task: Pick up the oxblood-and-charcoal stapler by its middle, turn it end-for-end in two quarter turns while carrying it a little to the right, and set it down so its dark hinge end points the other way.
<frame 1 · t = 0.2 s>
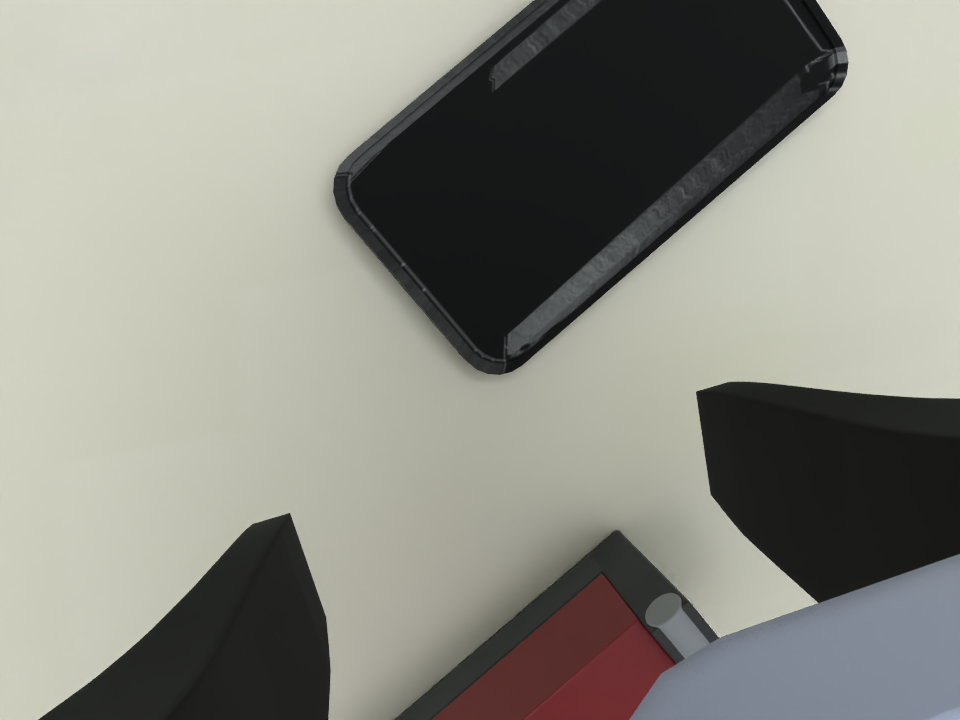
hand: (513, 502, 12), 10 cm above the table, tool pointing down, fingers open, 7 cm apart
phone: (587, 132, 22), on the table
stapler: (614, 596, 24), on the table
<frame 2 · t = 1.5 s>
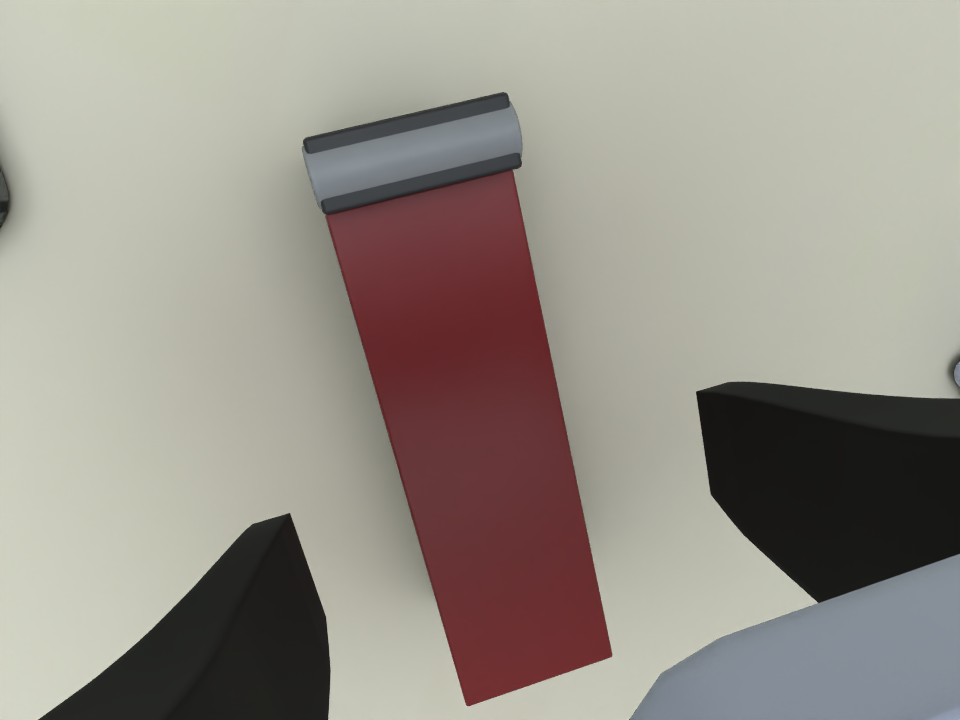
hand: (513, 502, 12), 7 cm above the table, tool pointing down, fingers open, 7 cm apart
stapler: (400, 194, 17), on the table
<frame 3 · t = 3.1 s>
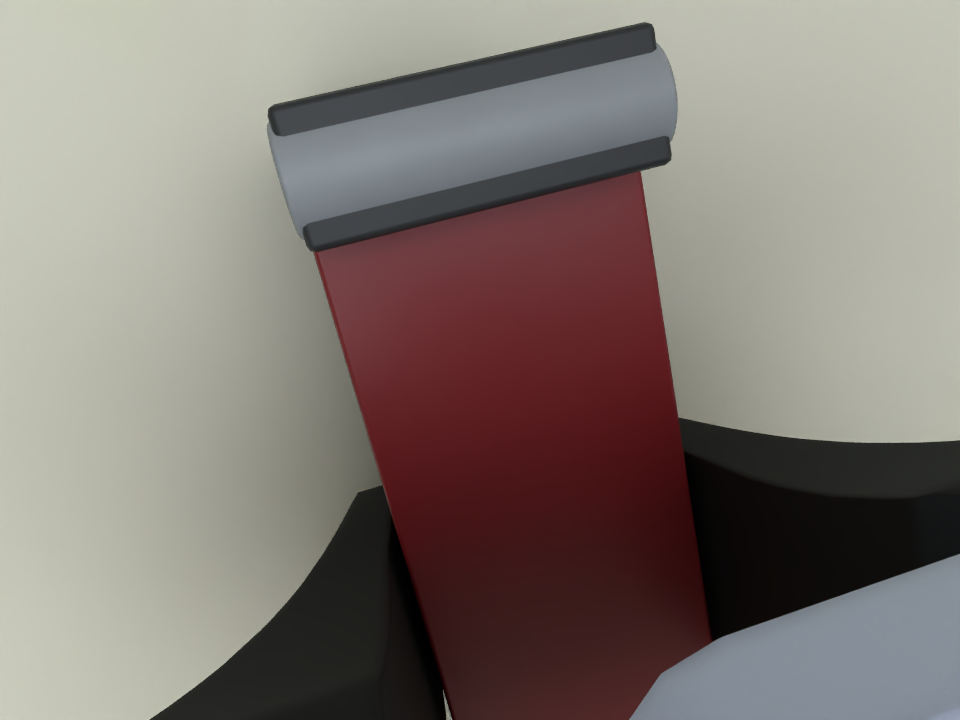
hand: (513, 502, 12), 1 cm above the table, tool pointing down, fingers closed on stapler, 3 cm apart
stapler: (428, 204, 12), on the table, touching gripper
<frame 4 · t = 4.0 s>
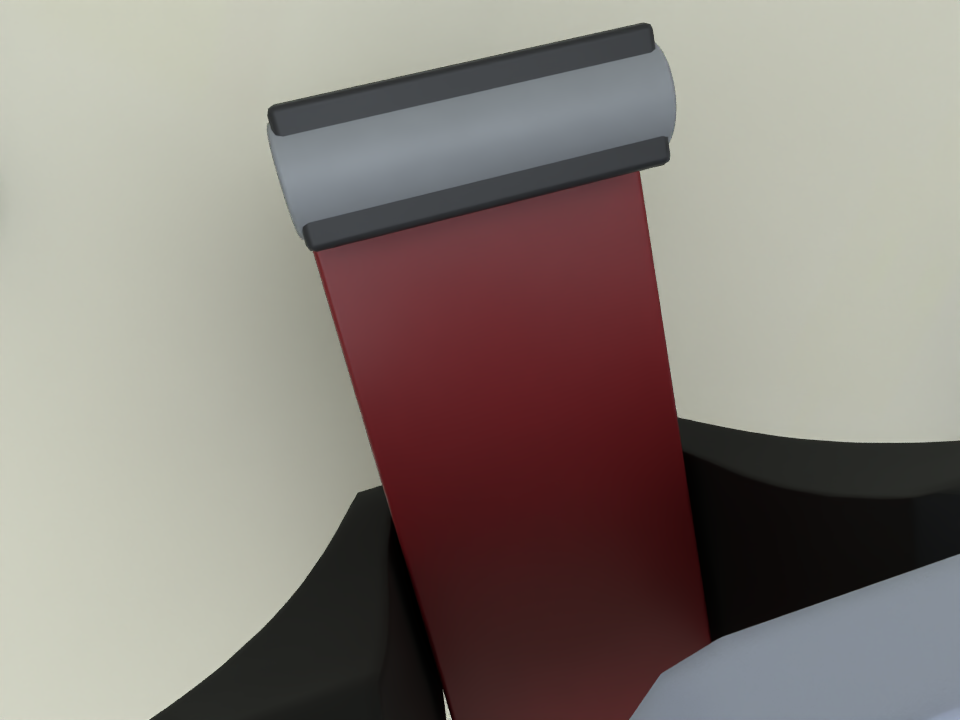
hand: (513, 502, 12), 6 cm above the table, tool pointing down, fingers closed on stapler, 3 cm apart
stapler: (428, 204, 12), point 5 cm above the table, touching gripper
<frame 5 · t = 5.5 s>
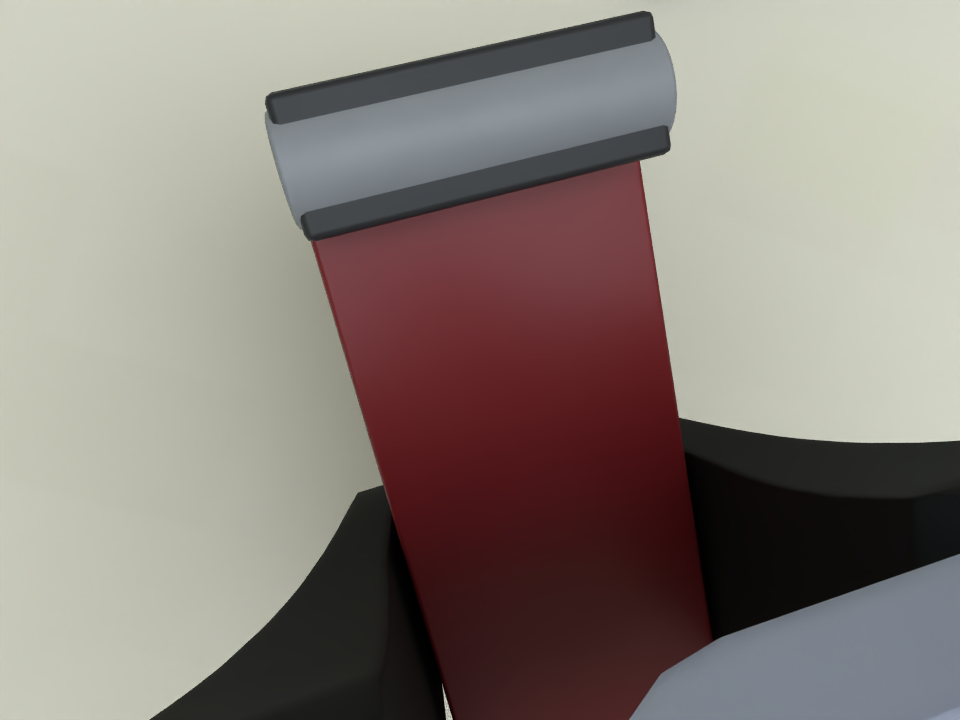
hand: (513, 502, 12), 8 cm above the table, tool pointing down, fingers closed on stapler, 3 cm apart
stapler: (427, 198, 12), point 7 cm above the table, touching gripper
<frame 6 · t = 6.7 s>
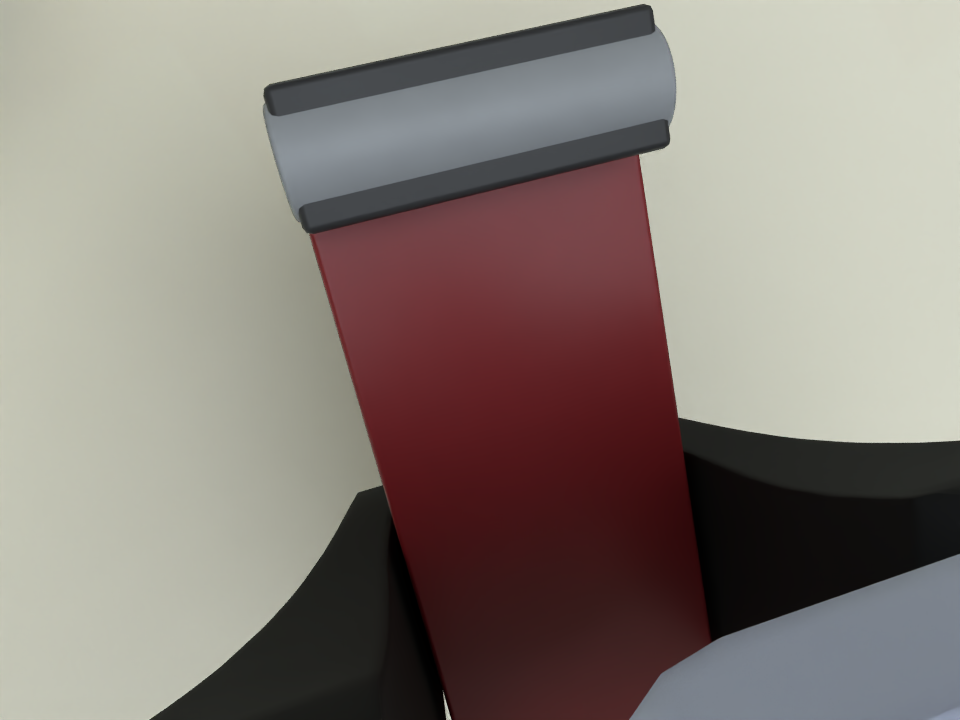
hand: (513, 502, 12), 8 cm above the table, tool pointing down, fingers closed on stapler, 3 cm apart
stapler: (427, 194, 12), point 7 cm above the table, touching gripper
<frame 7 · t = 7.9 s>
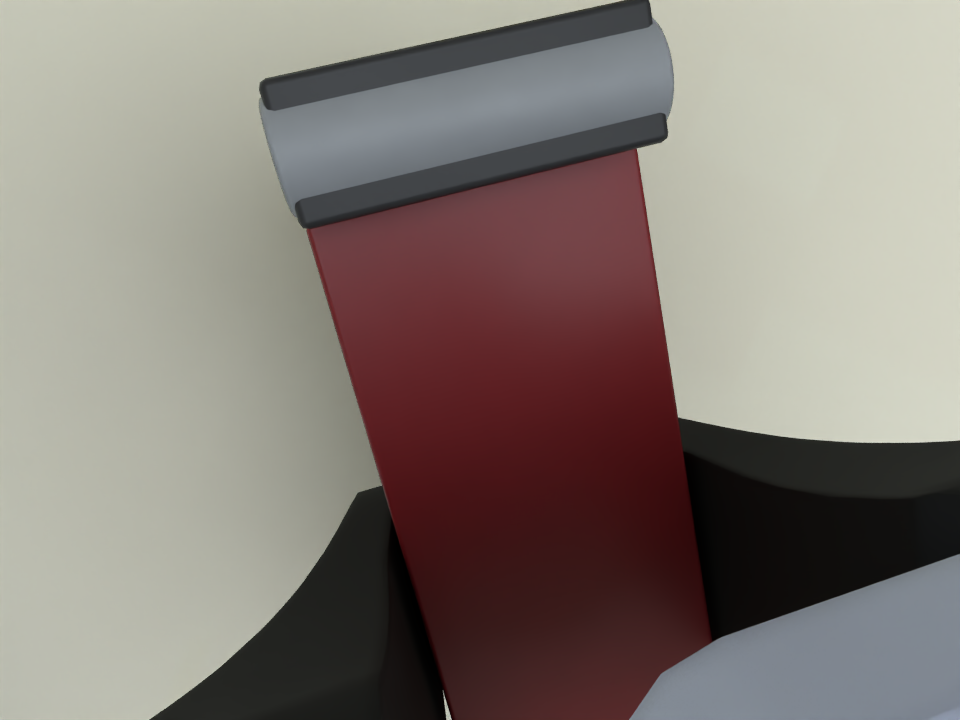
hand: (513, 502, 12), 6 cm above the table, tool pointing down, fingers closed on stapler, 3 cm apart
stapler: (425, 191, 12), point 5 cm above the table, touching gripper
when the fingers open (1 cm above the table, at t = 9.5 s): stapler stays where it is, on the table.
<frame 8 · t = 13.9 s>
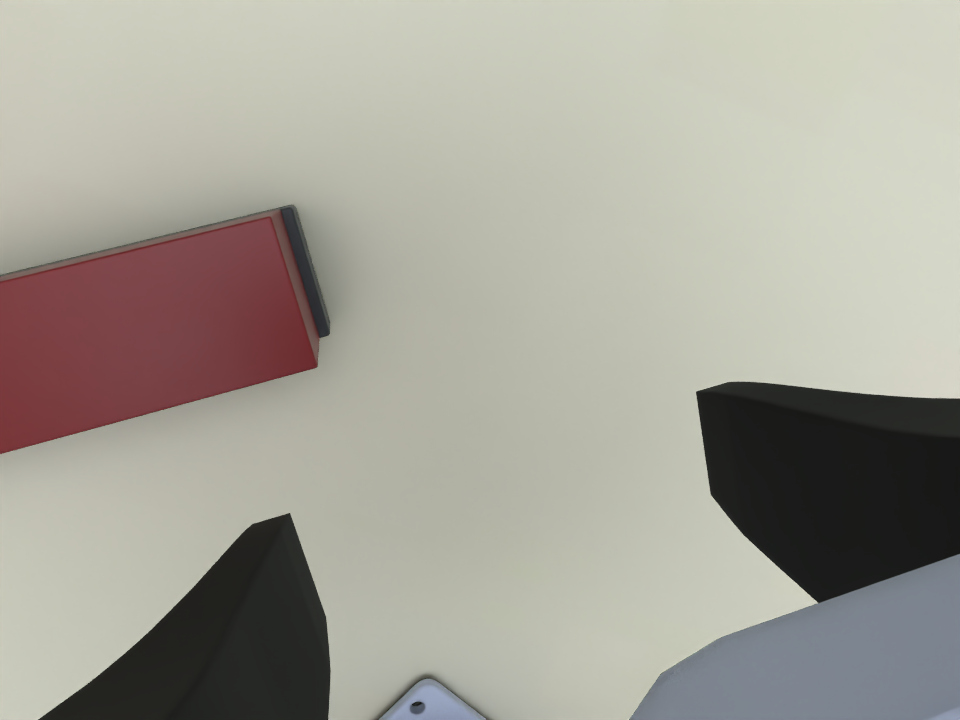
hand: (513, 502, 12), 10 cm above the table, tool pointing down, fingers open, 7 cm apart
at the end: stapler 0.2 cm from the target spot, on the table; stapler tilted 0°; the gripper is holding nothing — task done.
